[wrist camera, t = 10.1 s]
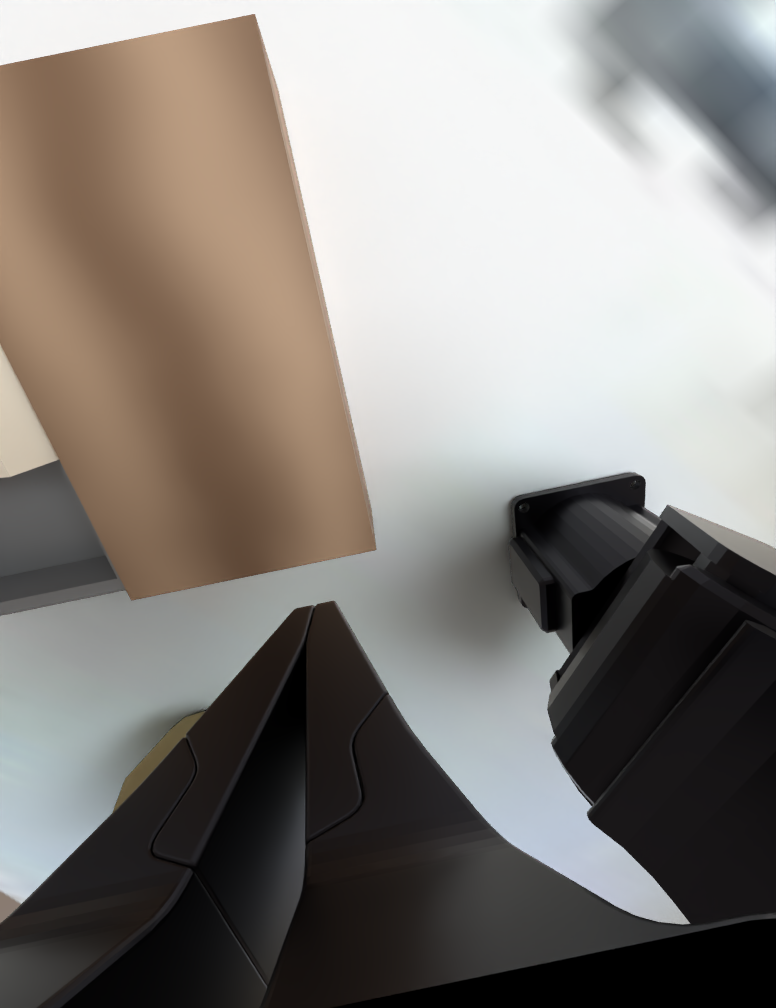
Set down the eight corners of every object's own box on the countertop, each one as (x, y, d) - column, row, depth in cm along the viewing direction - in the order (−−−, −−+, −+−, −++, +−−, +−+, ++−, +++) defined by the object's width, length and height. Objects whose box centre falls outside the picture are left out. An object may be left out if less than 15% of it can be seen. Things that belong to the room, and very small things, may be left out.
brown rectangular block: (277, 89, 15) (254, 13, 11) (371, 509, 21) (376, 549, 18) (-12, 147, 15) (-129, 91, 11) (168, 551, 21) (131, 600, 18)
